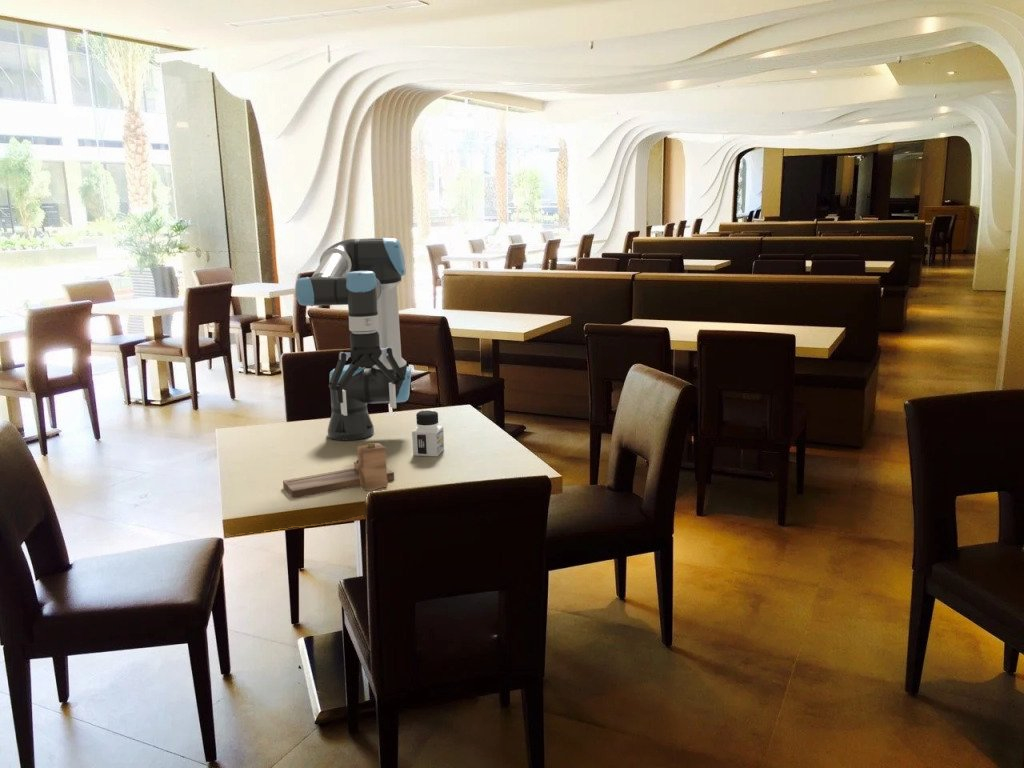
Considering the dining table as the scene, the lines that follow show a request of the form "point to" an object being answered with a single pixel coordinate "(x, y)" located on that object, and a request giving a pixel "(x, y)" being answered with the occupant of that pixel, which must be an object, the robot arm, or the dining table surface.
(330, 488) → the board
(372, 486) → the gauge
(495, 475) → the dining table surface
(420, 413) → the container
